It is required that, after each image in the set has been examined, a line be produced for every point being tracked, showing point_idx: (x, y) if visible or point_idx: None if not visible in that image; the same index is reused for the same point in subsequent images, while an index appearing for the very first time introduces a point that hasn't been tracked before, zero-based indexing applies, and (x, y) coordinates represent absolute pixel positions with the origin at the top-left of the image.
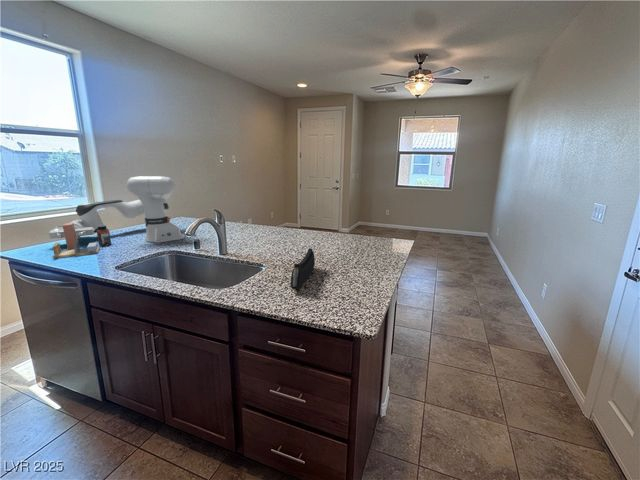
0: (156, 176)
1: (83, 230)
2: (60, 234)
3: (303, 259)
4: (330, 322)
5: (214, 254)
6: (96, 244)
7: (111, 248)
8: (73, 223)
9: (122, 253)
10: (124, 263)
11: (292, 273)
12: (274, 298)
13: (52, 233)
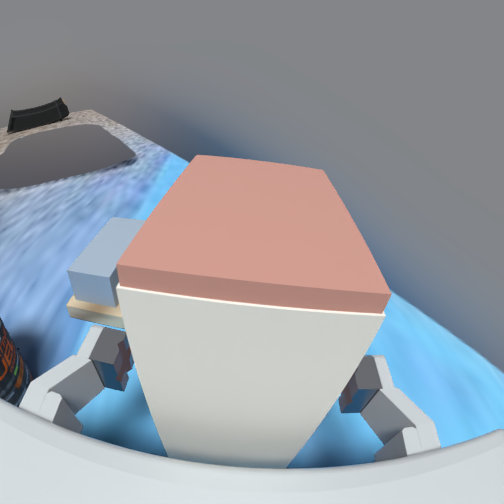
0: None
1: (34, 417)
2: (366, 380)
3: (36, 107)
4: (92, 111)
5: None
6: (90, 245)
7: (33, 286)
8: (137, 247)
9: (58, 215)
10: (108, 169)
11: (64, 104)
12: (82, 118)
13: (480, 436)
